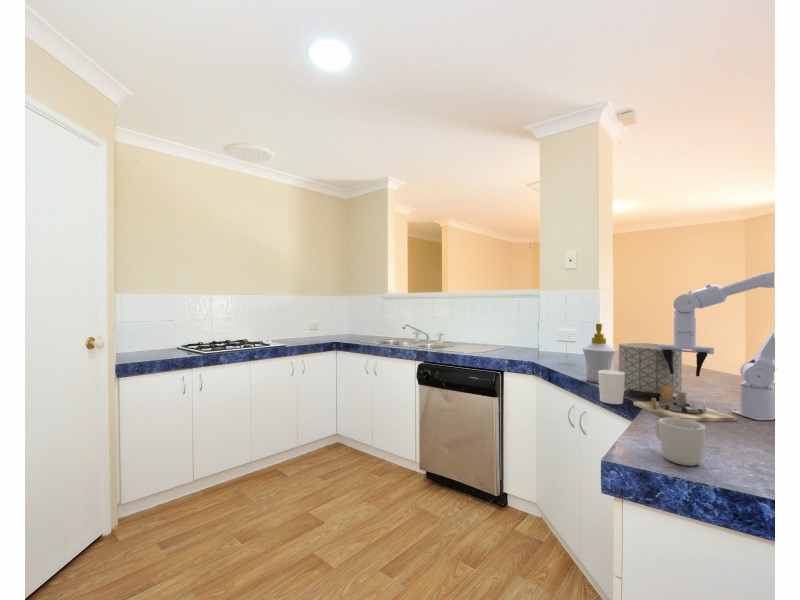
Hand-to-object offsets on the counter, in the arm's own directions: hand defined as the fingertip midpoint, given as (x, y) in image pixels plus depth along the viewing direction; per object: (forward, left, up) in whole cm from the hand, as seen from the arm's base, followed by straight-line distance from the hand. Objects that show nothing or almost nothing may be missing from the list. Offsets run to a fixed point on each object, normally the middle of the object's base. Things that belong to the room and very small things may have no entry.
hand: (684, 374), depth 124 cm
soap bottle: (+5, -40, -11) cm, 42 cm away
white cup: (+20, -7, -11) cm, 24 cm away
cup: (+35, +40, -11) cm, 54 cm away
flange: (+5, +4, -9) cm, 11 cm away
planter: (+1, -15, -11) cm, 19 cm away
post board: (+6, +6, -10) cm, 13 cm away
